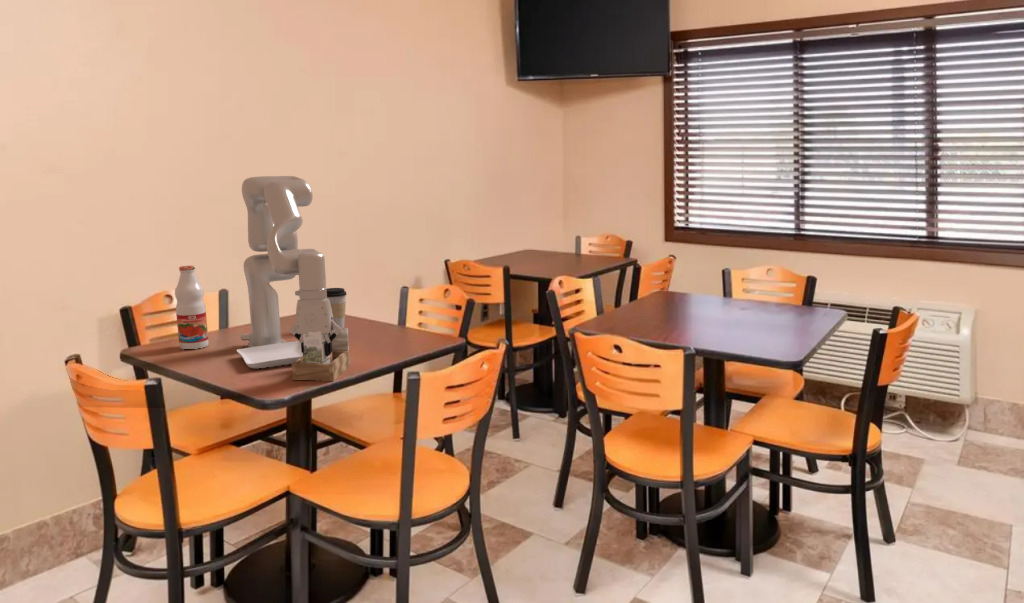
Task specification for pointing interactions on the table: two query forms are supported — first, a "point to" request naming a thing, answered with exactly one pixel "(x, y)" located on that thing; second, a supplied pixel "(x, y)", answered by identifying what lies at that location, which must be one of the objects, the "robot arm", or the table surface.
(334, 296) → the coffee cup
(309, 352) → the syrup box
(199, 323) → the fruit juice
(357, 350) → the table surface
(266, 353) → the salad plate
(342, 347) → the wooden box
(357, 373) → the table surface
